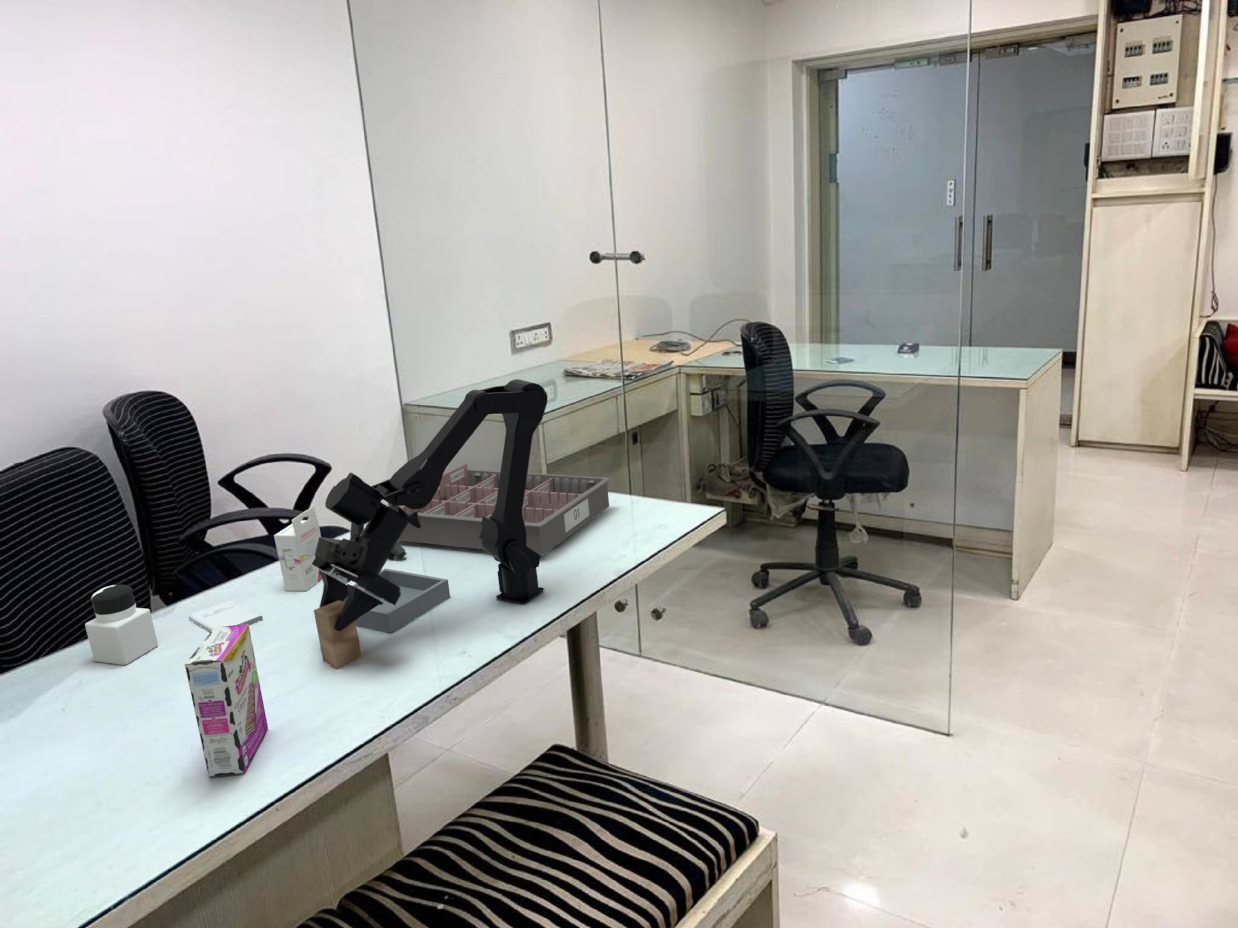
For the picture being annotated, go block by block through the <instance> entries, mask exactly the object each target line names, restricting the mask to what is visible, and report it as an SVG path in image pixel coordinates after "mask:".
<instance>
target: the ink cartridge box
mask: <svg viewBox="0 0 1238 928" xmlns="http://www.w3.org/2000/svg"><path fill="white" fill-rule="evenodd" d="M304 518H308V519H304ZM273 537H274V542H275V548H276V552H277V556H278V561H279V566H280V570H281V576H282V579H283V585H284V590H285V591H286V592H307V591H309V590H310V589H311V588H313V586H315V585H317V583H319V582H320V581H321V580H322V577H321V575H320V574H319V571H321V572H324V571H323V570H321V569H319V568H317V567H316V566H314V565H312V563H313V561H314V559H315V558H316V557H315V552H316V548H317V544H318V540H319V537H322V534H321V530H320V524H319V520H318V517H317V513H316V510H315V507H314V506H311V507H310V508H308V509H306V510H305V511H303V512H301V513H300V514H298V515H297V516H296V517H294V518H292V519H291V524H290V525H288V526H286V527H285V528H283V529H282V530H280V531H279V532H277V533H276V534H274V535H273Z"/></svg>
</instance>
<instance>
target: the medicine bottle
mask: <svg viewBox="0 0 1238 928" xmlns="http://www.w3.org/2000/svg"><path fill="white" fill-rule="evenodd" d="M91 602H92V607H93V610H94V613H95V618H93V619H92V620H91V619H90V620H89V621H88V622H85V624H84V626H85V630H86V634H87V639H88V641H89V646H90V651H91V654H92V657H93V660H94V661H95V662H98V663H105V664H112V665H122V666H127V665H128V664H130V663H132V662H134V661H135V660H137V659H138V658H140V657H143V655H145V654H148V653H149V652H151V651H152V650H153V649H156V648H158V646H159V643H158V639H157V635H156V631H155V626H154V623H153V618H152V614H151V610H150V609H149V608H142V607H137V604H136V599H135V597H134V592H133V588H132V587H131V586H130V585H127V584H112V585H109V586H105V587H103V588H100V589H99V590H97V591H96V592H94V593H93V594H92V596H91Z"/></svg>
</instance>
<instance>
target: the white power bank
mask: <svg viewBox="0 0 1238 928" xmlns="http://www.w3.org/2000/svg"><path fill="white" fill-rule="evenodd" d="M189 619H190V620H191V621H190V620H189ZM188 620H189V621H190V622H192V621H193V622H194V623H193V622H192V623H193V624H195V623H196V624H195V625H197V626H198V627H200V626H201V627H200V628H202V627H203V628H202V629H204V630H205V629H206V631H207V630H208V632H209V631H210V632H209V633H211V631H212V630H213V629H214V628H215V627H225V626H233V625H245V624H248V625H250V626H252V625H255V624H258V623H259V622H258V621H260V622H262V621H264V617H263V615H261V614H259V613H257V612H255V611H254V610H251V609H249V608H248V607H245V606H243V605H241V604H239V603H237V602H235V601H233V600H227V601H224V602H221V603H219V604H216V605H213V606H211V607H208V608H205V609H202V610H200V611H197V612H193V613H191V614H189V615H188ZM254 623H255V624H254Z"/></svg>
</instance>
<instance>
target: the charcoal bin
mask: <svg viewBox="0 0 1238 928" xmlns="http://www.w3.org/2000/svg"><path fill="white" fill-rule="evenodd" d="M379 576H381V577H383V578H384V579H386V580H388V581H390V582H391V583H393V584H395V585H397V586H398V587H400V591H401V596H400V598H399V600H398V601H397V603H396V605H393V604H391V603H389V602H387V601H385V600H384V599H383V598H381V600H380V601H381V602H383V604H382V605H378V606H376V607H375V608H373V609H372V610H370V611H368V612H367V613H365V614H364V615H362V616H361V617H359V618H358V619H357V620H356V626H357V627H362V628H366V629H370V630H375V631H380V632H384V633H388V634H392V633H393V632H395V631H397V630H399V629H400V628H401V627H403V626H405V625H406V624H408V623H409V622H411V621H413V620H415V619H417V618H418V617H420V616H422V615H423V614H425V613H426V612H428V611H429V610H431V609H433V608H434V607H436V606H438V605H439V604H441V603H443V602H444V601H446V600H448V599H450V598H451V594H450V593H451V591H450V585H449V579H447V578H443V577H441V578H440V577H436V576H430V575H424V574H418V573H413V572H407V571H402V570H397V569H390V568H384V569H383V568H382V570H381V571H380V573H379ZM351 585H352V584H351ZM352 586H354V587H356V588H357V586H358V584H357V583H354V584H353V585H352ZM347 599H348V596H347V598H346V599H345V600H344V601H343V602H344V603H346V601H347Z"/></svg>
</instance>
